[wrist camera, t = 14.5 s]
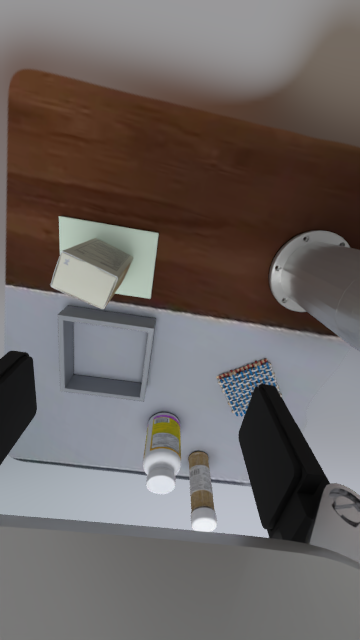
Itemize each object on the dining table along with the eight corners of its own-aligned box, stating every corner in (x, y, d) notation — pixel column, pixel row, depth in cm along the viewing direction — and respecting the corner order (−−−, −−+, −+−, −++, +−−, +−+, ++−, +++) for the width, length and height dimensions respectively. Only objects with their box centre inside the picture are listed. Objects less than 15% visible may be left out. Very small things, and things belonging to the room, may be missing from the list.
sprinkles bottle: (191, 466, 57) (195, 536, 45) (185, 452, 55) (187, 522, 43) (210, 461, 56) (220, 531, 44) (205, 448, 55) (213, 516, 42)
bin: (156, 318, 42) (153, 328, 38) (146, 387, 48) (143, 401, 44) (68, 305, 41) (57, 314, 37) (69, 377, 47) (60, 391, 43)
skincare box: (85, 263, 37) (45, 285, 26) (95, 236, 36) (57, 248, 24) (125, 282, 38) (103, 312, 27) (136, 257, 37) (118, 277, 26)
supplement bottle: (166, 439, 53) (162, 503, 42) (141, 424, 52) (131, 487, 40) (187, 421, 52) (189, 484, 40) (162, 405, 50) (158, 465, 38)
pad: (158, 233, 37) (158, 233, 36) (150, 296, 40) (150, 298, 40) (61, 216, 35) (58, 216, 35) (63, 283, 39) (60, 285, 38)
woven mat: (267, 354, 46) (270, 360, 44) (281, 395, 50) (285, 402, 48) (214, 373, 47) (215, 380, 45) (232, 412, 51) (234, 419, 49)
